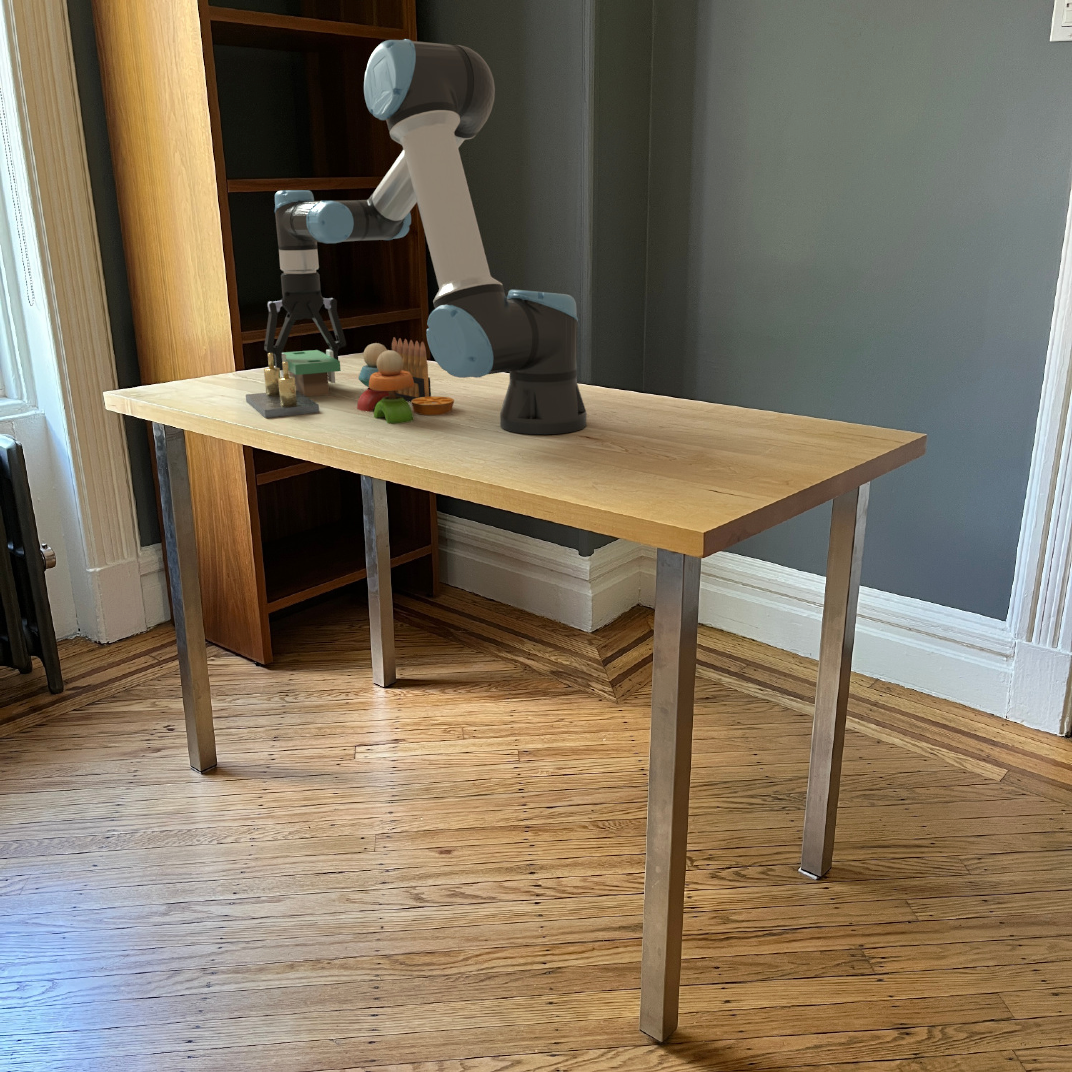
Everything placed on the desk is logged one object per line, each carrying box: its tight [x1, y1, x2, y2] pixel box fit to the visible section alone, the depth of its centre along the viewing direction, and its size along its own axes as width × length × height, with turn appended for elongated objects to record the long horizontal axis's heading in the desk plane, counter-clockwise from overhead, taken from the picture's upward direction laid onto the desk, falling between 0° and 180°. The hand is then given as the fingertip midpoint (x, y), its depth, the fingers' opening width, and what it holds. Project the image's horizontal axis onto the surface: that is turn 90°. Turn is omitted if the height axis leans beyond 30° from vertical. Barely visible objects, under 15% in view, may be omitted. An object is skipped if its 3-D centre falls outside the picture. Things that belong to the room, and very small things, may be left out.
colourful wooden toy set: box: [356, 342, 455, 425], centre depth 194 cm, size 18×17×12 cm
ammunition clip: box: [391, 337, 432, 403], centre depth 203 cm, size 11×2×12 cm, turn 44°
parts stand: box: [289, 371, 330, 397], centre depth 215 cm, size 12×5×5 cm, turn 26°
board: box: [283, 349, 342, 375], centre depth 214 cm, size 17×9×2 cm, turn 26°
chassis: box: [245, 352, 320, 419], centre depth 199 cm, size 17×10×10 cm, turn 26°
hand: (308, 383), depth 215 cm, fingers closed on board, 9 cm apart
